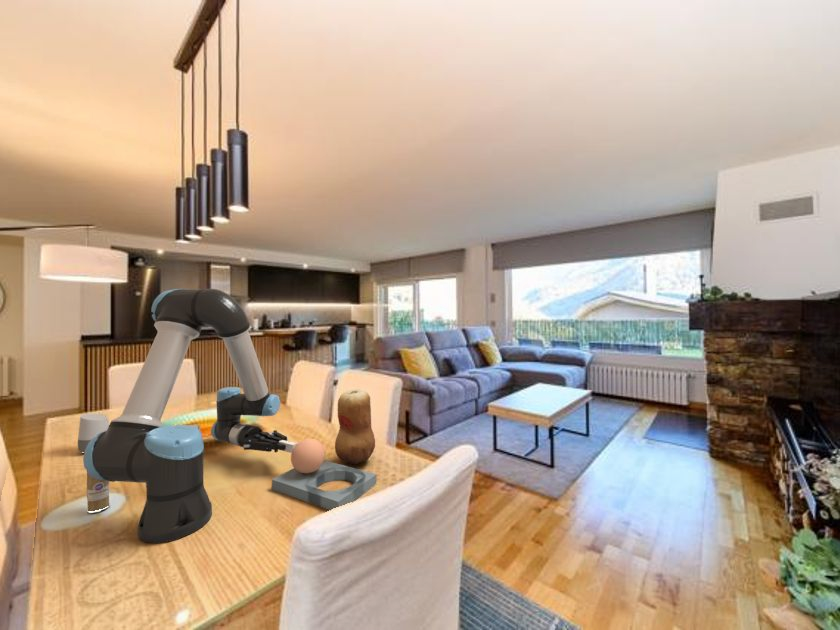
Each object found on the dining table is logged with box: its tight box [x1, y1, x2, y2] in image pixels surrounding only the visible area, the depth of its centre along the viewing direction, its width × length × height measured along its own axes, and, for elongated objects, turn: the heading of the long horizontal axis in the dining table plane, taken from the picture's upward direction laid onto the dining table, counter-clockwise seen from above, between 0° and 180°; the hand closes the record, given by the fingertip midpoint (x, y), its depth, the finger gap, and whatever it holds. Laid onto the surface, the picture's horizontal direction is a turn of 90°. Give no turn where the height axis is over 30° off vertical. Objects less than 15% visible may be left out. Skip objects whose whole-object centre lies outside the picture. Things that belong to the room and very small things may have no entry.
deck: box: [271, 459, 378, 511], centre depth 105 cm, size 26×17×3 cm, turn 62°
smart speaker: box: [77, 413, 110, 453], centre depth 132 cm, size 10×9×14 cm
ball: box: [290, 438, 326, 474], centre depth 108 cm, size 10×10×10 cm
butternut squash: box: [334, 388, 376, 466], centre depth 121 cm, size 14×13×25 cm
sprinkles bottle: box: [85, 469, 110, 511], centre depth 93 cm, size 5×5×14 cm
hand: (294, 448), depth 111 cm, fingers closed
